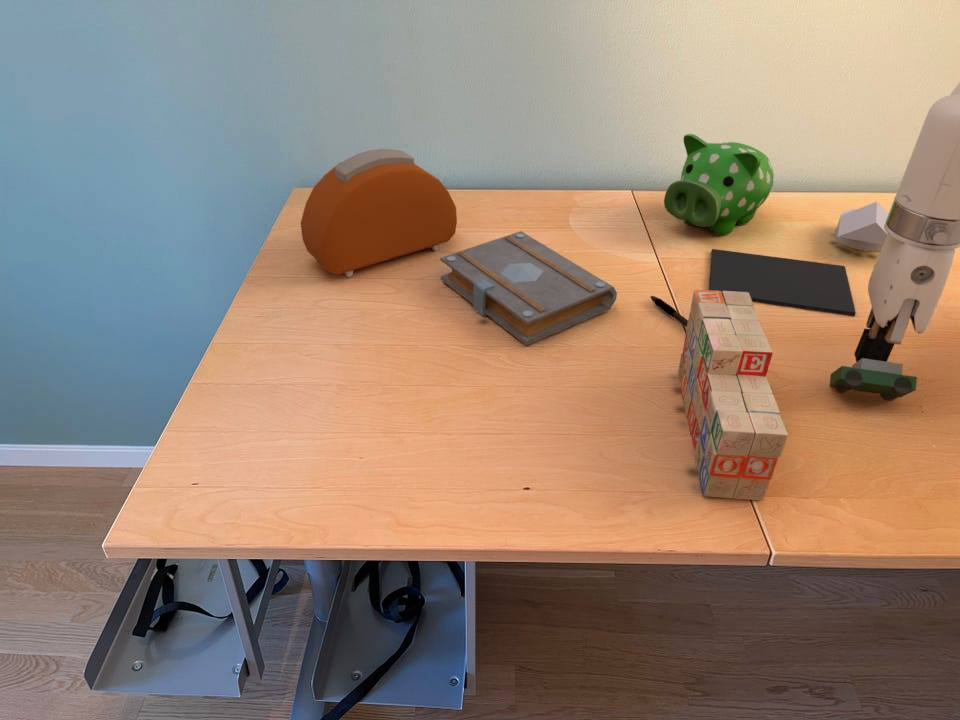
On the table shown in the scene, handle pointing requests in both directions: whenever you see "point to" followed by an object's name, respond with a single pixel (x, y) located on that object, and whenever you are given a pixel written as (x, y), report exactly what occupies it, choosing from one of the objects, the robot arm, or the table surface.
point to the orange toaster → (375, 212)
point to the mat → (783, 281)
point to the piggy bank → (719, 185)
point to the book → (527, 286)
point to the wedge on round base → (863, 228)
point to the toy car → (874, 379)
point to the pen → (669, 310)
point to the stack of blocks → (730, 396)
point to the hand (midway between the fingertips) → (868, 361)
